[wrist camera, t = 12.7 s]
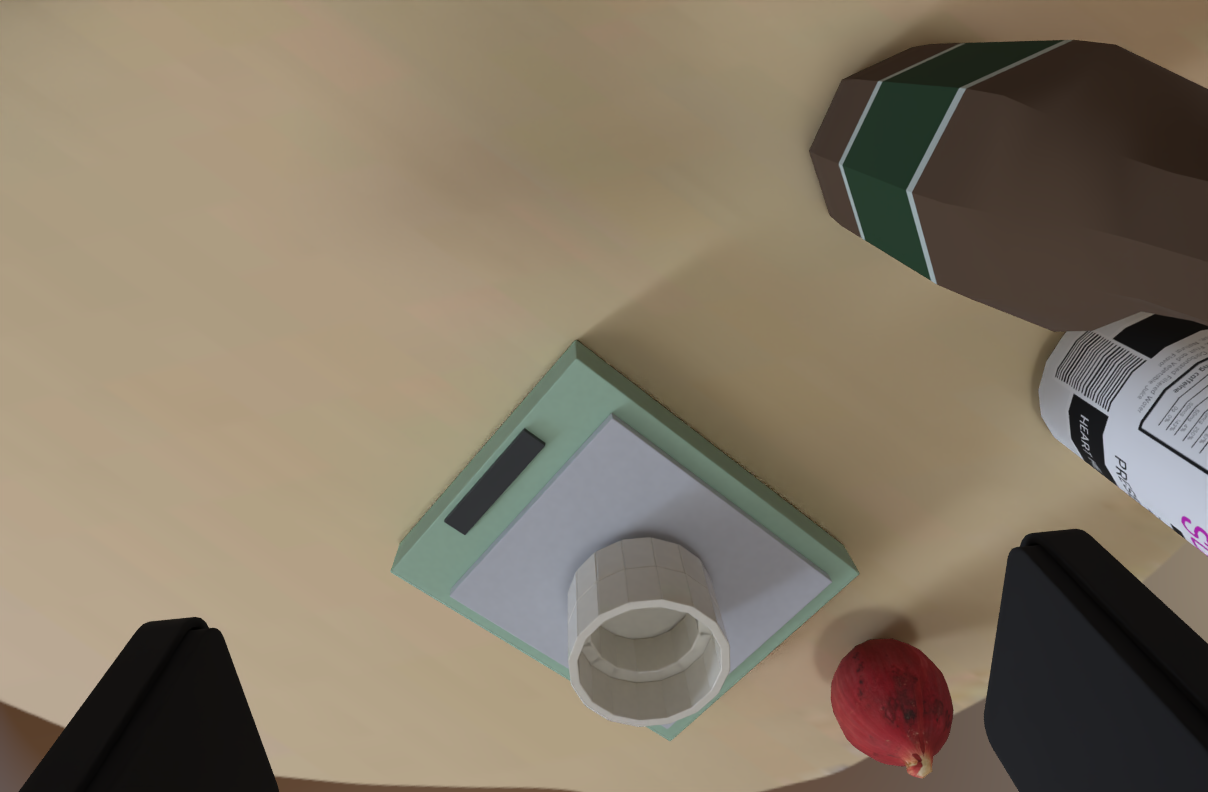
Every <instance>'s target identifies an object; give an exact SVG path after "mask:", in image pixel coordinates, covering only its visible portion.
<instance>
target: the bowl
mask: <svg viewBox="0 0 1208 792" xmlns="http://www.w3.org/2000/svg"><path fill="white" fill-rule="evenodd" d="M568 666H569V674H570V682H571V686H572V687H573V689H574V690H575V692H576V693H577V694H578V696H579V697H580V699H581V700H582V702H583V703H584V705H585V706H586V707H588V708H589V709H591V710H593V711H594V712H596V713H598V714H599V715H601V716H602V717H604V718H606V719H607V720H610V721H613V722H618V723H622V724H627V725H632V726H637V727H638V726H639V727H643V726H654V725H664V724H670V723H673V722H675V721H678V720H680V719H683V718H685V717H688V716H690V715H692V714H695V713H697V712H698V711H699V710H701V709H702V708H703V707H704V706H705V705H706V704H708V703H709V702H710V701H711V700H712V699H713V698H714V697H716V696H717V695H718V693H719V692H720V690H721V688H722V686H723V684H724V682H725V680H726V678H727V676H728V674H729V672H730V645H729V641H728V637H727V634H726V630H725V627H724V623H723V620H722V616H721V613H720V609H719V605H718V602H717V598H716V595H715V591H714V588H713V584H712V581H711V578H710V577H709V575H708V573H707V571H706V569H705V568H704V566H703V564H702V562H701V561H700V559H699V558H697V557H696V556H695V555H693V554H692V553H690V552H689V551H688V550H686V549H685V548H684V547H682V546H681V545H679V544H676V543H672V542H668V541H664V540H660V539H656V538H651V537H644V538H633V539H623V540H622V541H621V540H620V541H618V542H615V543H613V544H611V545H609V546H607V547H604V548H602V549H600V550H598V551H596V552H594V553H593V554H592V555H591V556H590V557H589V558H588V559H587V560H586V561H585V562H584V563H583V564H582V565H581V566H580V567H579V568H578V569H577V571H576V572H575V575H574V578H573V580H572V583H571V586H570V588H569V591H568Z"/></svg>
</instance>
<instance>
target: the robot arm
mask: <svg viewBox="0 0 1208 792" xmlns="http://www.w3.org/2000/svg"><path fill="white" fill-rule="evenodd" d="M984 724H985V729H986V733H987V736H988V739H989V742H990V744H991V746H992V748H993V750H994V751H995V753H996V754H997V756H998V758H999V760H1000V761H1001V762H1002V764H1003V766H1004V768H1005V769H1006V771H1007V773H1008V774H1009V776H1010V778H1011V779H1012V781H1013V782H1014V784H1015V786H1016V787H1017V789H1018V791H1019V792H1208V644H1207V643H1206V642H1205V641H1204V640H1203V639H1202V638H1201V637H1200V636H1199V635H1198V634H1197V633H1196V632H1194V631H1193V630H1192V629H1191V628H1190V627H1189V626H1188V625H1187V624H1186V623H1185V622H1184V621H1183V620H1181V619H1180V618H1179V617H1178V616H1177V615H1176V614H1175V613H1174V612H1173V611H1172V610H1171V609H1170V608H1168V607H1167V606H1166V605H1165V604H1164V603H1163V602H1162V601H1161V600H1160V599H1159V598H1158V597H1156V596H1155V595H1154V594H1153V593H1152V592H1151V591H1150V590H1149V589H1148V588H1147V587H1146V586H1145V585H1144V584H1142V583H1141V582H1140V581H1139V580H1138V579H1137V578H1136V577H1135V576H1134V575H1133V574H1132V573H1131V572H1129V571H1128V570H1127V569H1126V568H1125V567H1124V566H1123V565H1122V564H1121V563H1120V562H1119V561H1118V560H1116V559H1115V558H1114V557H1113V556H1112V555H1111V554H1110V553H1109V552H1108V551H1107V550H1106V549H1105V548H1103V547H1102V546H1101V545H1100V544H1099V543H1098V542H1097V541H1096V540H1095V539H1094V538H1093V537H1092V536H1090V535H1089V534H1088V533H1086V532H1085V531H1083V530H1080V529H1069V530H1059V531H1049V532H1039V533H1031V534H1028V535H1026V536H1025V537H1024V539H1023V540H1022V542H1021V545H1020V547H1016V548H1013V549H1012V550H1011V551H1010V553H1009V556H1008V560H1007V566H1006V573H1005V579H1004V586H1003V592H1002V599H1001V605H1000V612H999V619H998V625H997V632H996V638H995V645H994V651H993V658H992V665H991V671H990V678H989V684H988V691H987V697H986V704H985V711H984ZM19 792H279V789H278V786H277V782H276V780H275V777H274V774H273V771H272V769H271V766H270V763H269V760H268V758H267V755H266V752H265V749H264V747H263V744H262V741H261V739H260V736H259V733H258V730H257V728H256V725H255V722H254V719H253V717H252V714H251V711H250V708H249V706H248V703H247V700H246V697H245V695H244V692H243V689H242V686H241V684H240V681H239V678H238V675H237V673H236V670H235V667H234V664H233V662H232V659H231V656H230V653H229V651H228V648H227V645H226V642H225V640H224V637H223V635H222V633H221V632H220V631H219V630H218V629H216V628H209V627H208V626H207V624H206V622H205V621H204V620H202V619H201V618H198V617H191V618H181V619H171V620H161V621H151V622H147V623H145V624H143V625H142V626H141V627H140V628H139V629H138V630H137V631H136V632H135V634H134V635H133V636H132V638H131V639H130V641H129V642H128V643H127V645H126V646H125V647H124V649H123V650H122V651H121V653H120V654H119V656H118V657H117V658H116V660H115V661H114V662H113V664H112V665H111V666H110V668H109V669H108V671H107V672H106V673H105V675H104V676H103V677H102V679H101V680H100V681H99V683H98V684H97V686H96V687H95V688H94V690H93V691H92V692H91V694H90V695H89V696H88V698H87V699H86V701H85V702H84V703H83V705H82V706H81V707H80V709H79V710H78V711H77V713H76V714H75V716H74V717H73V718H72V720H71V721H70V722H69V724H68V725H67V726H66V728H65V729H64V731H63V732H62V733H61V735H60V736H59V737H58V739H57V740H56V742H55V743H54V744H53V746H52V747H51V748H50V750H49V751H48V752H47V754H46V755H45V757H44V758H43V759H42V761H41V762H40V763H39V765H38V766H37V767H36V769H35V770H34V772H33V773H32V774H31V776H30V777H29V778H28V780H27V781H26V782H25V784H24V785H23V787H22V788H21V789H20V791H19Z"/></svg>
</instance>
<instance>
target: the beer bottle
mask: <svg viewBox="0 0 1208 792" xmlns="http://www.w3.org/2000/svg"><path fill="white" fill-rule="evenodd" d="M809 152H810V155H811V159H812V162H813V165H814V168H815V171H816V174H817V177H818V180H819V183H820V187H821V190H822V193H823V196H824V199H825V202H826V205H827V208H828V211H829V214H830V216H831V217H832V218H833V219H834V220H836V221H837V222H838V223H839V224H840V225H841V226H843V227H844V228H846V229H848V230H849V231H851V232H853V233H854V234H856V235H857V236H859V237H861V238H862V239H864V240H866V241H867V242H869V243H870V244H872V245H874V246H875V247H877V248H879V249H880V250H882V251H884V252H885V253H887V254H888V255H890V256H892V257H893V258H895V259H897V260H898V261H900V262H901V263H903V264H905V265H906V266H908V267H910V268H911V269H913V270H914V271H916V272H918V273H919V274H921V275H923V276H924V277H926V278H927V279H929V280H931V281H932V282H934V283H936V284H937V285H940V286H942V287H944V288H947V289H949V290H951V291H954V292H956V293H958V294H961V295H963V296H965V297H968V298H970V299H973V300H975V301H978V302H980V303H983V304H985V305H988V306H990V307H993V308H995V309H998V310H1001V311H1003V312H1006V313H1008V314H1011V315H1013V316H1016V317H1018V318H1021V319H1023V320H1026V321H1029V322H1031V323H1034V324H1036V325H1039V326H1041V327H1044V328H1046V329H1049V330H1051V331H1054V332H1058V331H1093V330H1096V329H1098V328H1101V327H1103V326H1106V325H1108V324H1111V323H1114V322H1116V321H1119V320H1121V319H1124V318H1126V317H1129V316H1131V315H1134V314H1137V313H1139V312H1146V313H1152V314H1158V315H1163V316H1169V317H1174V318H1180V319H1185V320H1191V321H1194V322H1197V323H1200V324H1203V325H1206V326H1208V89H1206V88H1204V87H1202V86H1200V85H1198V84H1196V83H1194V82H1192V81H1190V80H1188V79H1186V78H1184V77H1182V76H1179V75H1177V74H1175V73H1173V72H1171V71H1169V70H1167V69H1165V68H1163V67H1161V66H1159V65H1157V64H1155V63H1153V62H1151V61H1148V60H1146V59H1144V58H1142V57H1140V56H1138V55H1136V54H1134V53H1132V52H1130V51H1128V50H1126V49H1124V48H1122V47H1120V46H1117V45H1113V44H1105V43H1096V42H1088V41H1079V40H1052V41H1018V42H984V43H950V44H929V45H923V46H918V47H912V48H910V49H908V50H905V51H903V52H901V53H899V54H897V55H895V56H892V57H890V58H888V59H886V60H884V61H882V62H880V63H877V64H875V65H873V66H871V67H869V68H867V69H864V70H862V71H860V72H858V73H856V74H854V75H851V76H849V77H847V78H845V79H843V80H842V81H841V83H840V85H839V87H838V89H837V92H836V94H835V96H834V98H833V100H832V102H831V105H830V107H829V109H828V111H827V113H826V115H825V118H824V120H823V122H822V124H821V126H820V128H819V130H818V133H817V135H816V137H815V139H814V141H813V143H812V146H811V148H810V150H809Z"/></svg>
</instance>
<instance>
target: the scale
mask: <svg viewBox="0 0 1208 792" xmlns="http://www.w3.org/2000/svg"><path fill="white" fill-rule="evenodd" d="M644 537H651V538H656V539H660V540H664V541H668V542H672V543H676V544H679V545H681V546H682V547H684V548H685V549H686V550H688V551H689V552H690V553H692V554H693V555H695V556H696V557H697V558H699V559H700V561H701V562H702V564H703V566H704V568H705V569H706V571H707V573H708V575H709V577H710V578H711V581H712V584H713V588H714V591H715V595H716V598H717V602H718V605H719V609H720V613H721V616H722V620H723V623H724V627H725V630H726V634H727V637H728V641H729V645H730V672H729V674H728V676H727V678H726V680H725V682H724V684H723V686H722V688H721V690H720V692H719V693H718V695H717V696H716V697H714V698H713V699H712V700H711V701H710V702H709V703H708V704H706V705H705V706H704V707H703V708H702V709H701V710H699V711H698V712H697V713H695V714H692V715H690V716H688V717H685V718H683V719H680V720H678V721H675V722H673V723H670V724H664V725H654V726H646V727H647V728H649V729H651V730H652V731H654V732H656V733H657V734H659V735H661V736H662V737H664V738H666V739H667V740H669V741H671V740H672V739H674V738H675V737H676V736H677V735H678V734H679V733H680V732H681V731H683V730H684V729H685V728H686V727H687V726H688V725H689V724H690V723H692V722H693V721H694V720H695V719H696V718H697V717H698V716H700V715H701V714H702V713H703V712H704V711H705V710H706V709H707V708H709V707H710V706H711V705H712V704H713V703H714V702H715V701H716V700H718V699H719V698H720V697H721V696H722V695H723V694H724V693H725V692H727V691H728V690H729V689H730V688H731V687H732V686H733V685H735V684H736V683H737V682H738V681H739V680H740V679H741V678H742V677H744V676H745V675H746V674H747V673H748V672H749V671H750V670H751V669H753V668H754V667H755V666H756V665H757V664H758V663H759V662H760V661H762V660H763V659H764V658H765V657H766V656H767V655H768V654H770V653H771V652H772V651H773V650H774V649H775V648H776V647H777V646H779V645H780V644H781V643H782V642H783V641H784V640H785V639H786V638H788V637H789V636H790V635H791V634H792V633H793V632H794V631H796V630H797V629H798V628H799V627H800V626H801V625H802V624H803V623H805V622H806V621H807V620H808V619H809V618H810V617H811V616H812V615H814V614H815V613H816V612H817V611H818V610H819V609H820V608H821V607H823V606H824V605H825V604H826V603H827V602H828V601H829V600H831V599H832V598H833V597H834V596H835V595H836V594H837V593H838V592H840V591H841V590H842V589H843V588H844V587H845V586H846V585H847V584H849V583H850V582H851V581H852V580H853V579H854V578H855V577H856V576H858V575H859V571H858V570H857V568H856V566H855V564H854V563H853V561H852V559H851V557H850V556H849V554H848V552H847V550H846V549H845V547H844V546H843V545H842V544H841V543H840V542H838V541H837V540H836V539H834V538H833V537H832V536H830V535H829V534H828V533H827V532H825V531H824V530H823V529H821V528H820V527H819V526H817V525H816V524H815V523H814V522H812V521H811V520H810V519H808V518H807V517H806V516H805V515H803V514H802V513H801V512H799V511H798V510H797V509H795V508H794V507H793V506H792V505H790V504H789V503H788V502H786V501H785V500H784V499H782V498H781V497H780V496H779V495H777V494H776V493H775V492H773V491H772V490H771V489H769V488H768V487H767V486H766V485H764V484H763V483H762V482H760V481H759V480H758V479H756V478H755V477H754V476H753V475H751V474H750V473H749V472H747V471H746V470H745V469H743V468H742V467H741V466H740V465H738V464H737V463H736V462H734V461H733V460H732V459H731V458H729V457H728V456H727V455H725V454H724V453H723V452H721V451H720V450H719V449H718V448H716V447H715V446H714V445H712V444H711V443H710V442H708V441H707V440H706V439H705V438H703V437H702V436H701V435H699V434H698V433H697V432H695V431H694V430H693V429H692V428H690V427H689V426H688V425H686V424H685V423H684V422H682V421H681V420H680V419H679V418H677V417H676V416H675V415H673V414H672V413H671V412H669V411H668V410H667V409H666V408H664V407H663V406H662V405H660V404H659V403H658V402H657V401H655V400H654V399H653V398H651V397H650V396H649V395H647V394H646V393H645V392H644V391H642V390H641V389H640V388H638V387H637V386H636V385H634V384H633V383H632V382H631V381H629V380H628V379H627V378H625V377H624V376H623V375H621V374H620V373H619V372H618V371H616V370H615V369H614V368H612V367H611V366H610V365H608V364H607V363H606V362H605V361H603V360H602V359H601V358H599V357H598V356H597V355H596V354H594V353H593V352H592V351H590V350H589V349H588V348H586V347H585V346H584V345H583V344H581V343H580V342H579V341H577V340H575V341H574V342H573V343H572V344H571V346H570V347H569V348H568V349H567V350H566V351H565V353H564V354H563V355H562V356H561V357H560V358H559V360H558V361H557V362H556V363H555V364H554V365H553V366H552V368H551V369H550V370H549V371H548V372H547V373H546V375H545V376H544V377H543V378H542V379H541V380H540V382H539V383H538V384H537V385H536V386H535V387H534V389H533V390H532V391H531V392H530V393H529V394H528V395H527V397H526V398H525V399H524V400H523V401H522V402H521V404H520V405H519V406H518V407H517V408H516V409H515V411H514V412H513V413H512V414H511V415H510V416H509V417H508V419H507V420H506V421H505V422H504V423H503V424H502V426H501V427H500V428H499V429H498V430H497V431H496V433H495V434H494V435H493V436H492V437H491V438H490V439H489V441H488V442H487V443H486V444H485V445H484V446H483V448H482V449H481V450H480V451H479V452H478V453H477V455H476V456H475V457H474V458H473V459H472V460H471V462H470V463H469V464H468V465H467V466H466V467H465V468H464V470H463V471H462V472H461V473H460V474H459V475H458V477H457V478H456V479H455V480H454V481H453V482H452V484H451V485H450V486H449V487H448V488H447V489H446V490H445V492H444V493H443V494H442V495H441V496H440V497H439V499H438V500H437V501H436V502H435V503H434V504H433V506H432V507H431V508H430V509H429V510H428V511H427V513H426V514H425V515H424V516H423V517H422V518H421V519H420V521H419V522H418V523H417V524H416V525H415V526H414V528H413V529H412V530H411V531H410V532H409V533H408V535H407V536H406V537H405V538H404V539H403V540H402V541H401V543H400V545H399V548H398V551H397V554H396V557H395V560H394V563H393V565H392V568H391V573H393V574H394V575H396V576H398V577H399V578H401V579H403V580H404V581H406V582H408V583H409V584H411V585H413V586H414V587H416V588H418V589H419V590H421V591H423V592H424V593H426V594H428V595H429V596H431V597H433V598H434V599H436V600H437V601H439V602H441V603H442V604H444V605H446V606H447V607H449V608H451V609H452V610H454V611H456V612H457V613H459V614H461V615H462V616H464V617H466V618H467V619H469V620H471V621H472V622H474V623H476V624H477V625H479V626H480V627H482V628H484V629H485V630H487V631H489V632H490V633H492V634H494V635H495V636H497V637H499V638H500V639H502V640H504V641H505V642H507V643H509V644H510V645H512V646H514V647H515V648H517V649H519V650H520V651H522V652H523V653H525V654H527V655H528V656H530V657H532V658H533V659H535V660H537V661H538V662H540V663H542V664H543V665H545V666H547V667H548V668H550V669H552V670H553V671H555V672H557V673H558V674H560V675H561V676H563V677H565V678H566V679H568V680H570V674H569V666H568V591H569V588H570V586H571V583H572V580H573V578H574V575H575V572H576V571H577V569H578V568H579V567H580V566H581V565H582V564H583V563H584V562H585V561H586V560H587V559H588V558H589V557H590V556H591V555H592V554H593V553H594V552H596V551H598V550H600V549H602V548H604V547H607V546H609V545H611V544H613V543H615V542H618V541H620V540H621V541H622V540H623V539H633V538H644Z"/></svg>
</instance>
